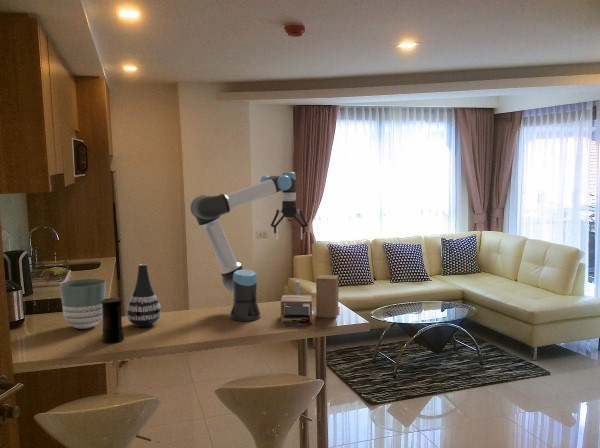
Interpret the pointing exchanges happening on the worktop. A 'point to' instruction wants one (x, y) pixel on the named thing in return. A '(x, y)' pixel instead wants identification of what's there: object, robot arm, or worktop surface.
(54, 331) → the worktop surface
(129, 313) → the vase
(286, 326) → the pit
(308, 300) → the wooden side table
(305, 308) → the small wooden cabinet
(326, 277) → the wooden block
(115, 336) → the container
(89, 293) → the planter
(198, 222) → the robot arm
